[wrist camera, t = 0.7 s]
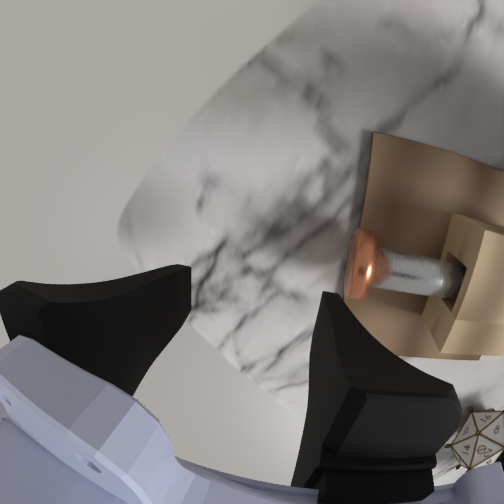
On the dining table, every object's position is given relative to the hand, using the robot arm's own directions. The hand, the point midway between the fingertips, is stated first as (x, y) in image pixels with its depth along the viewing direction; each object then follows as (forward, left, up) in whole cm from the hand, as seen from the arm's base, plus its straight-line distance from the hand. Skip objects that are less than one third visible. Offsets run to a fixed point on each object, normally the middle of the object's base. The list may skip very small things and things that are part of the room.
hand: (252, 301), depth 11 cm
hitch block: (-12, 0, -9) cm, 16 cm away
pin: (-10, 0, -9) cm, 13 cm away
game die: (-26, +17, -10) cm, 33 cm away
